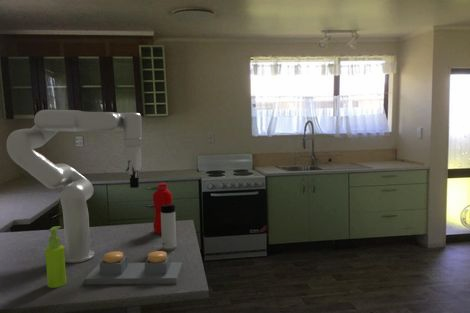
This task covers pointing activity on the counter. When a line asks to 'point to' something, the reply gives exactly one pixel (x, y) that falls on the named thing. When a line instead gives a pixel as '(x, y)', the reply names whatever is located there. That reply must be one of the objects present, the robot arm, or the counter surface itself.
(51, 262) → the soap dispenser
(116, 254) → the knob
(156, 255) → the knob
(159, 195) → the water bottle
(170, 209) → the travel mug
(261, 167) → the counter surface
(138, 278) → the console
